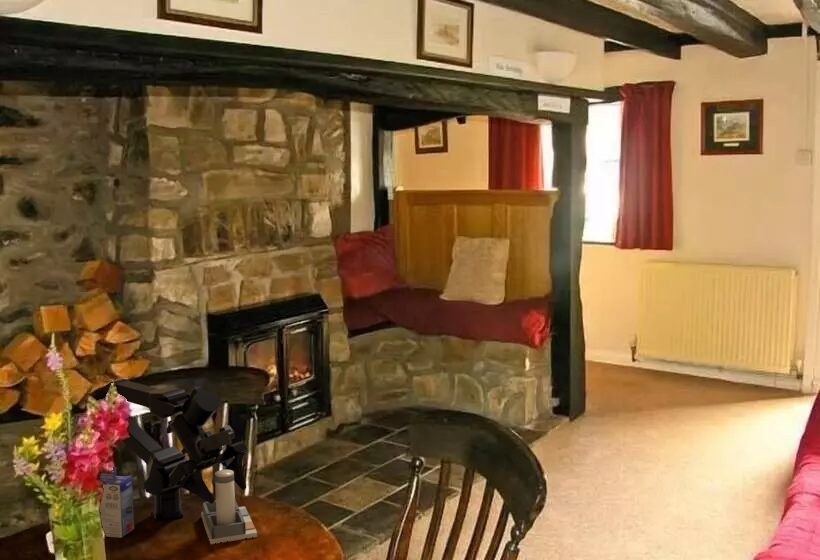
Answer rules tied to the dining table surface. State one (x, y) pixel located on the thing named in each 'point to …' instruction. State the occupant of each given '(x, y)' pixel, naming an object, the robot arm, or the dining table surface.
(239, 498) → the dining table surface
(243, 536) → the socket board
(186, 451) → the robot arm
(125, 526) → the ink cartridge box
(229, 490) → the plug
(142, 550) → the dining table surface
